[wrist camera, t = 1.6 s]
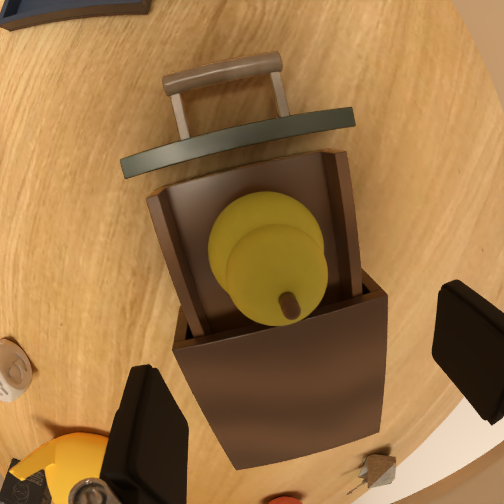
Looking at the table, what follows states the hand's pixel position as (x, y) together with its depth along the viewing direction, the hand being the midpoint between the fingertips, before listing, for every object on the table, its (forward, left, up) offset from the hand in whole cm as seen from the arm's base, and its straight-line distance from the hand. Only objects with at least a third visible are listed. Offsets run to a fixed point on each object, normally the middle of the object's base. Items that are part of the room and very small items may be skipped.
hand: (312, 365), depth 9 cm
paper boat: (+33, +23, -15) cm, 43 cm away
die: (+17, -24, -15) cm, 33 cm away
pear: (0, 0, -13) cm, 13 cm away
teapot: (+34, -17, -15) cm, 41 cm away
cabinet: (+12, +5, -15) cm, 20 cm away
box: (+48, -32, -15) cm, 60 cm away
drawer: (-2, -1, -14) cm, 14 cm away
